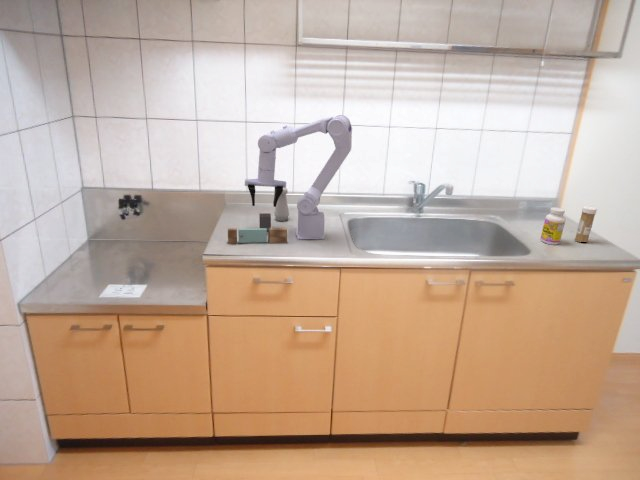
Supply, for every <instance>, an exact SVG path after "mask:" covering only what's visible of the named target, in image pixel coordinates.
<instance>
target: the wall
mask: <svg viewBox="0 0 640 480" xmlns="http://www.w3.org/2000/svg"><path fill="white" fill-rule="evenodd" d="M267 243H269V244H288V228H287V227H271V228H270V227H269V228H268V232H267ZM227 245H238V229H237V228H234V227H233V228H227Z"/></svg>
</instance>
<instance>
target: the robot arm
mask: <svg viewBox="0 0 640 480" xmlns="http://www.w3.org/2000/svg"><path fill="white" fill-rule="evenodd" d="M318 132H319V133H321V134H322V133H323V134H325V135H326V134H328V135H329V136H330V138H331V140H332V141H333V144H334V148H335V149H334V151H333V152H332V154H331V155H330V157H329V158H328V160H327V161H326V162H325V163H324V166H323V168H322V169H321V171H320V172H319V173H318V175H317V176H316V179H315V180H314V182H313V183H312V185H311V187H310V188H309V189H308V191H306V192H305V193H304V194H303V195H302V197H301V198H299V199H298V200H297V203H296V209H297V211H298V212H297V230H295V236H296V237H297V240H324V239H325V224H326V223H325V222H326V221H325V219H326V218H325V214H324V211H319V208H318V206H319V204H320V202H321V196H322V195H323V193H324V192H325V190H326V188H327V187H328V186H329V184H330V183H331V181H332V180H333V178H334V176H336V173H337V172H338V170H339V169H340V167H341V166H342V164H343V162H345V160H346V158H347V157H348V155H349V154H350V153H351V151H352V141H353V140H352V139H353V136H352V133H353V127H352V123H351V121H350V119H349V118H348V117H347V115H344V114H340V115H336V116H335V117H334V116H329V117H326V118H325V117H324V118H321V119H317V120H314V121H312V122H310V123H308V124H304V125H302V126H299V127H296V128H295V127H293V126H291V125H290V126H288V125H284V126H282V128H281V129H279V130H275V131H274V130H271V131H270V132H269V133H266V134H263V135H262V136H260V137H259V138H258V140H257V146H258V148H259V154H258V169H257V170H258V171H257V178H245V179H244V186H245V187H247V188H248V189H247V190H248V191H249V194H250V197H251V206H252V207H255V203H256V201H255V197H256V187H271V188H272V187H273V188H274V193H273V194H274V197H273V204H272V205H273V208H275V207H276V204H277V201H278V199H279V197H280V195H281V193H282V192H283V188H287V181H283V180H277V179H275V173H276V154H277V149H281V148H285V147H287V146H290V145H293V144H296V143H297V142H298V139H299V138H303V137H305V136H308V135H311V134H315V133H318Z"/></svg>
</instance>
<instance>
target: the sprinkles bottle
mask: <svg viewBox="0 0 640 480" xmlns="http://www.w3.org/2000/svg"><path fill="white" fill-rule="evenodd" d="M597 210H598V209H597V207H594V206H590V205H585V206H582V208H581V215H580V218H579V222H578V226H577V229H576V233H575V238H574V241H575V240H576V241H578V242H577V243H579V242H587V243H589V237H590V235H591V231H592V228H593V224H594V219H595V215H596V214H597ZM576 241H575V242H576Z"/></svg>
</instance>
